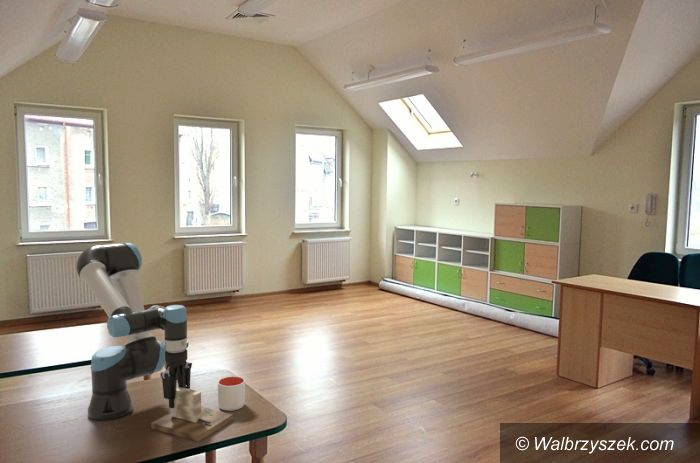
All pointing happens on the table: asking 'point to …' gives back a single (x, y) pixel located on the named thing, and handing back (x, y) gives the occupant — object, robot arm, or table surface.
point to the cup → (231, 393)
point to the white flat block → (189, 405)
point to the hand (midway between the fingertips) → (177, 413)
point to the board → (193, 424)
